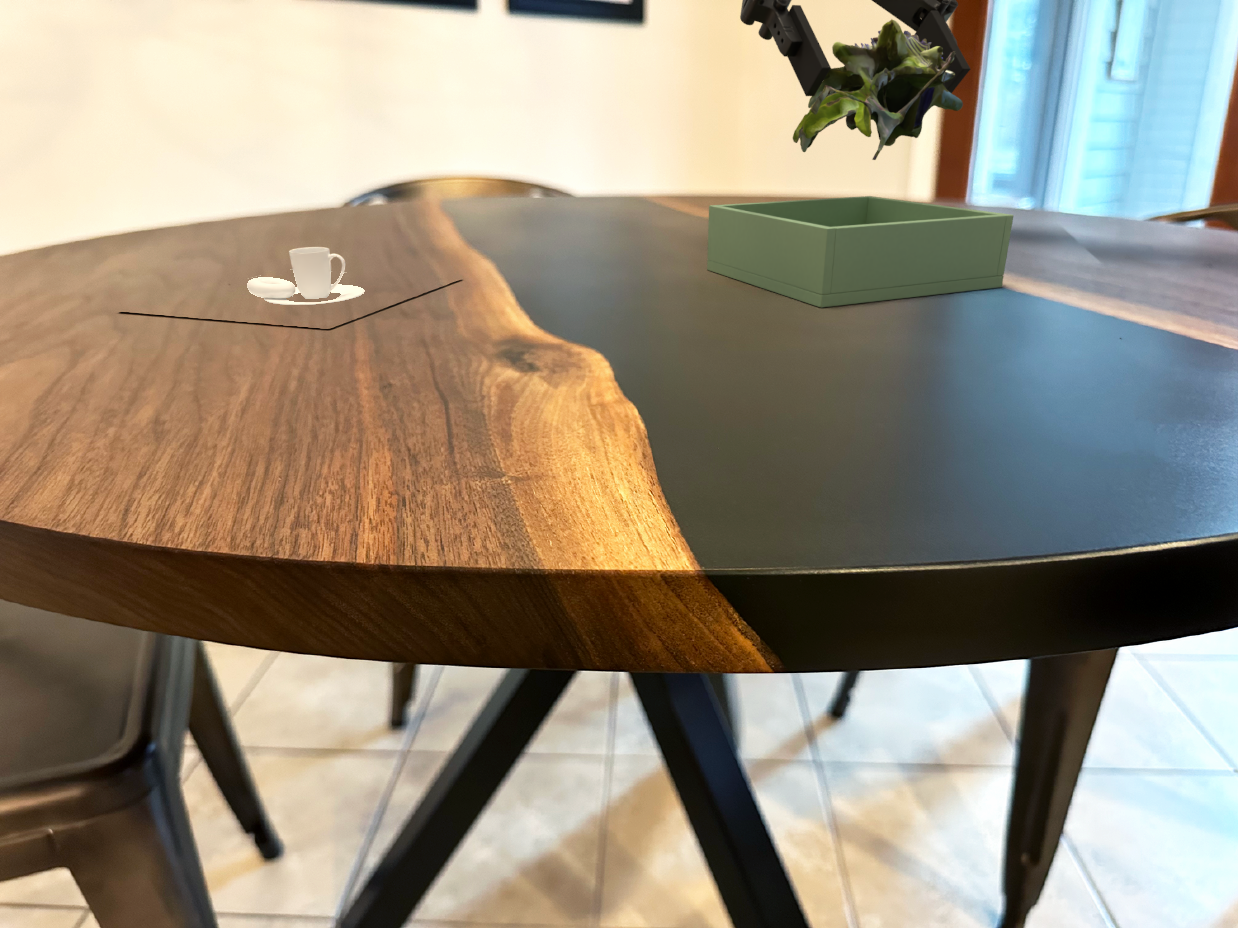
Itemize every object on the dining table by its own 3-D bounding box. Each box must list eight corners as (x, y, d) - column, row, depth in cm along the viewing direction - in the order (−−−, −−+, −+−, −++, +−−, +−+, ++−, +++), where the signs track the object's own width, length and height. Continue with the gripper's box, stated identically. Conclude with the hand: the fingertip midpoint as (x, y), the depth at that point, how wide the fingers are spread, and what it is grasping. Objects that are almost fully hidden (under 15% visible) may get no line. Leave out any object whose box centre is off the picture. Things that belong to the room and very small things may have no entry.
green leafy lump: (878, 210, 75) (974, 89, 71) (885, 211, 65) (998, 70, 61) (778, 135, 75) (867, 9, 71) (770, 124, 65) (873, -23, 61)
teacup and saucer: (235, 306, 68) (225, 255, 66) (299, 287, 75) (292, 241, 73) (326, 313, 65) (318, 260, 63) (384, 293, 72) (378, 245, 70)
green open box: (863, 255, 88) (870, 196, 85) (1002, 287, 72) (1014, 214, 69) (706, 269, 81) (708, 205, 79) (820, 307, 65) (827, 228, 63)
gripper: (887, -52, 81) (979, 116, 74) (653, -69, 72) (734, 121, 65) (933, -132, 74) (1040, 45, 68) (682, -161, 65) (776, 39, 59)
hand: (890, 83), depth 66 cm, fingers closed on green leafy lump, 13 cm apart
